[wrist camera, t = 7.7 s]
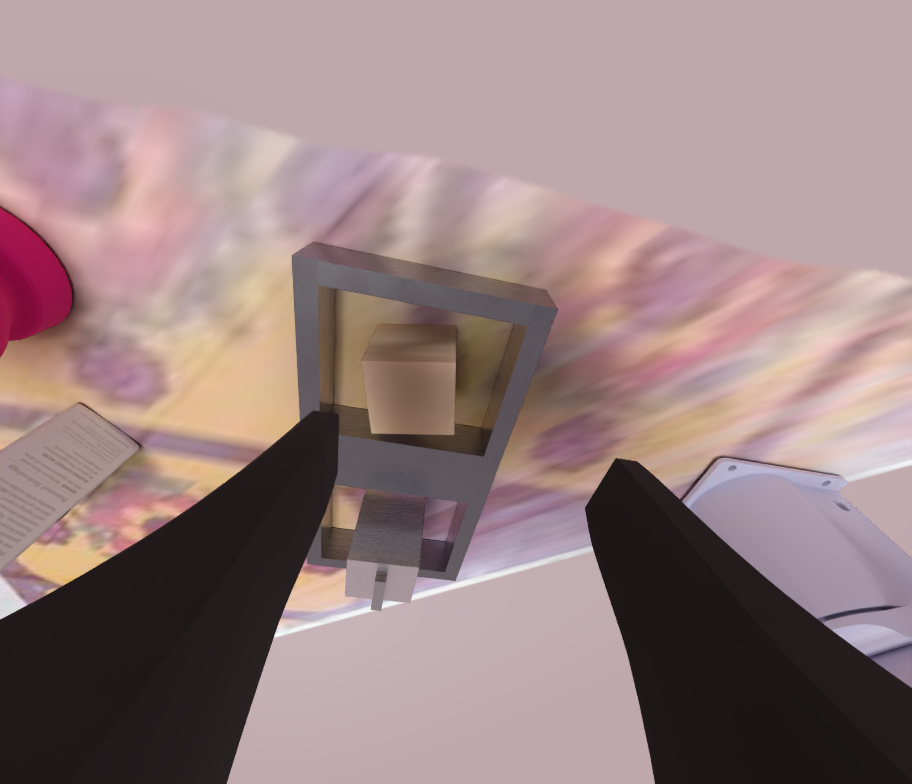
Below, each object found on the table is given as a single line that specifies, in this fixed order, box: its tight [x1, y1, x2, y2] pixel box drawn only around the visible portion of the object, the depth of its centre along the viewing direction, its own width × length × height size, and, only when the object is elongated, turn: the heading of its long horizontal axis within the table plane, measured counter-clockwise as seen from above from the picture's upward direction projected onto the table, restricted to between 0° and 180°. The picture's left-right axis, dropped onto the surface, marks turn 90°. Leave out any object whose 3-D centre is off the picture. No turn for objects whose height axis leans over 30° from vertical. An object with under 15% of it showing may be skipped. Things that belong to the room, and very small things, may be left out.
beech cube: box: [361, 324, 456, 435], centre depth 18 cm, size 4×4×4 cm
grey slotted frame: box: [292, 242, 558, 581], centre depth 22 cm, size 11×22×2 cm, turn 169°
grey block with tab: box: [345, 489, 426, 611], centre depth 23 cm, size 4×4×7 cm
